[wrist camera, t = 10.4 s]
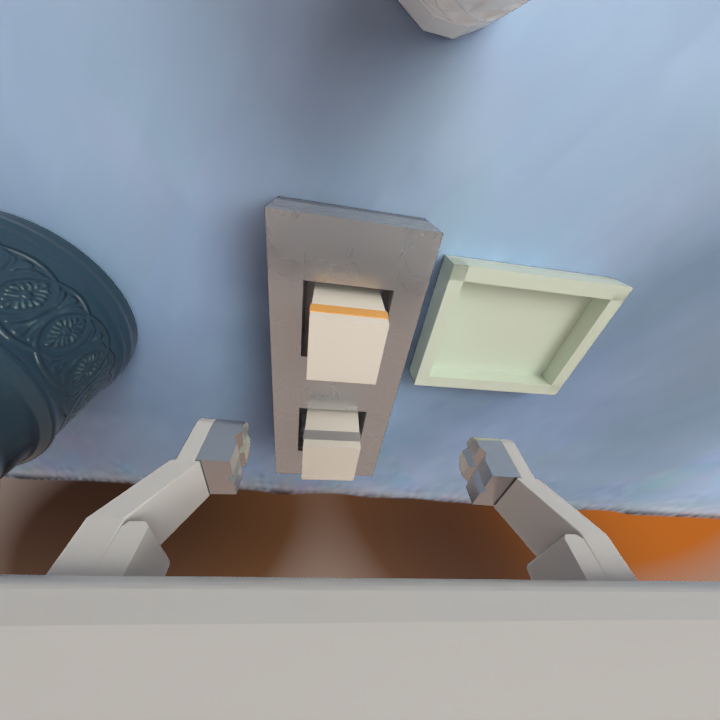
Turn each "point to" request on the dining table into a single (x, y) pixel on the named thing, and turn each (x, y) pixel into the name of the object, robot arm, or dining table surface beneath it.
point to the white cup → (458, 14)
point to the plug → (346, 334)
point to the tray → (510, 325)
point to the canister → (53, 336)
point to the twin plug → (330, 445)
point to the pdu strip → (345, 267)
